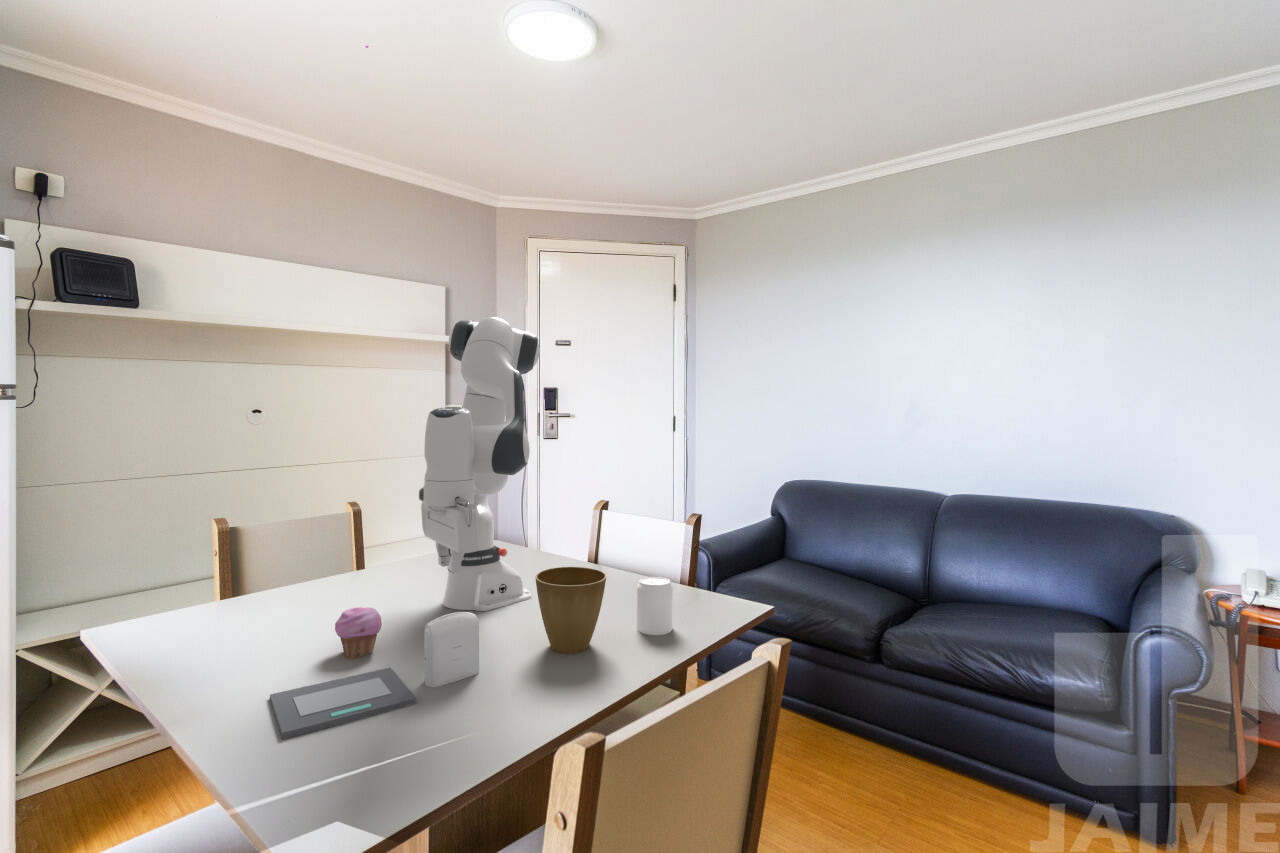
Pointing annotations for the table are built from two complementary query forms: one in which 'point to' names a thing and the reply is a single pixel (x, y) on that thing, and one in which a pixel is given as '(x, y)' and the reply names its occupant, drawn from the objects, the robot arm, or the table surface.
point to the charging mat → (339, 701)
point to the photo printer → (451, 648)
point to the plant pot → (570, 605)
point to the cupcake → (358, 630)
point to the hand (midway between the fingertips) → (449, 568)
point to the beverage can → (654, 606)
